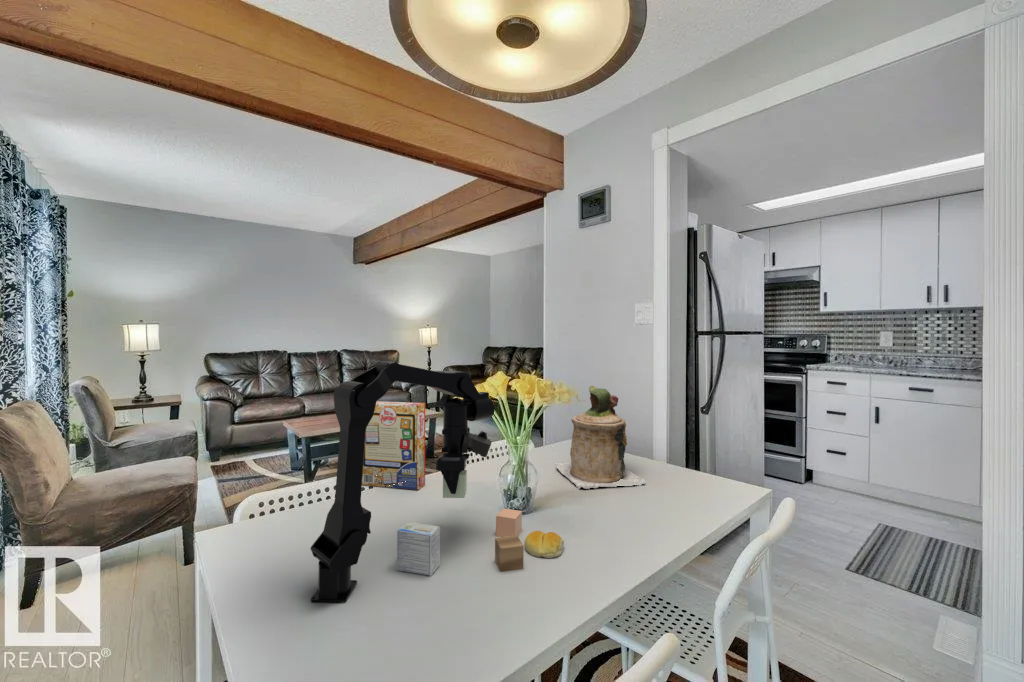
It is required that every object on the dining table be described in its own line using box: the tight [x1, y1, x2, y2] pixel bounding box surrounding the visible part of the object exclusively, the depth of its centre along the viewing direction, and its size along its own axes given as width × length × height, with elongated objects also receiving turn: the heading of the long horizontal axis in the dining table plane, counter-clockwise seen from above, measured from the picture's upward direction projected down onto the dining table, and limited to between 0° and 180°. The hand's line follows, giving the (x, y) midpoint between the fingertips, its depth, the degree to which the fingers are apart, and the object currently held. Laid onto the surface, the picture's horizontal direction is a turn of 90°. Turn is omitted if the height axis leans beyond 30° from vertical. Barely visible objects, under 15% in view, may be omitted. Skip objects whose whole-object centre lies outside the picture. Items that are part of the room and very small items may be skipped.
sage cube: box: [442, 469, 468, 499], centre depth 104 cm, size 5×5×5 cm
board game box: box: [362, 400, 426, 491], centre depth 143 cm, size 20×6×27 cm, turn 77°
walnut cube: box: [494, 535, 525, 573], centre depth 94 cm, size 5×5×5 cm
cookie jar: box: [554, 385, 646, 490], centre depth 154 cm, size 25×25×32 cm
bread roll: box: [524, 530, 565, 559], centre depth 101 cm, size 8×9×4 cm
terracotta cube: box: [495, 508, 523, 537], centre depth 109 cm, size 5×5×5 cm
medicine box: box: [396, 521, 441, 577], centre depth 92 cm, size 8×4×9 cm, turn 74°
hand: (454, 489), depth 104 cm, fingers closed on sage cube, 5 cm apart
